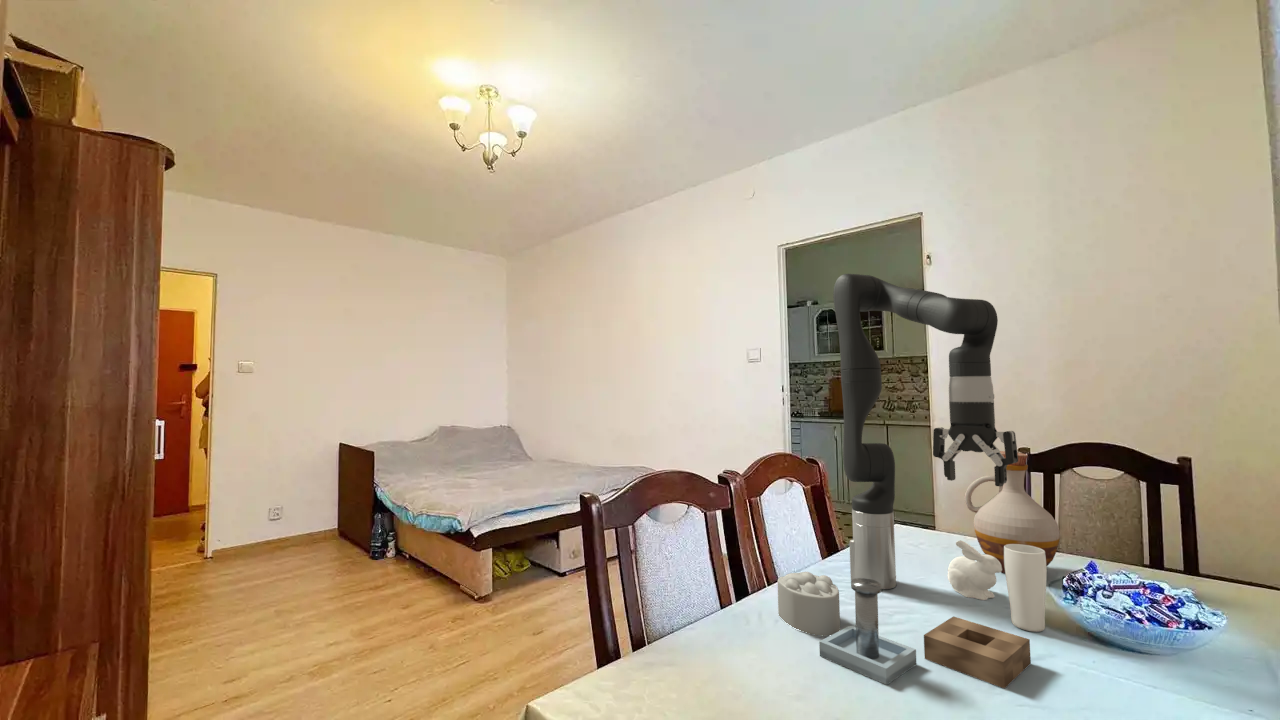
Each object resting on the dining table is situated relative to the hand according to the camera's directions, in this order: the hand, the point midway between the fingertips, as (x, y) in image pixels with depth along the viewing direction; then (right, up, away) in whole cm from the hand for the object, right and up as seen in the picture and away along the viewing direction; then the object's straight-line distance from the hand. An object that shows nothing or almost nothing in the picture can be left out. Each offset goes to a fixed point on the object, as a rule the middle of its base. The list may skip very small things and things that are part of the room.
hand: (974, 482), depth 105 cm
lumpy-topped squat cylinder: (-31, -29, +3) cm, 42 cm away
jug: (+29, -30, +31) cm, 52 cm away
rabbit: (+10, -29, +16) cm, 35 cm away
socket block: (-8, -27, -13) cm, 31 cm away
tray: (-26, -28, -12) cm, 40 cm away
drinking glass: (+10, -28, 0) cm, 30 cm away
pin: (-26, -27, -12) cm, 39 cm away
